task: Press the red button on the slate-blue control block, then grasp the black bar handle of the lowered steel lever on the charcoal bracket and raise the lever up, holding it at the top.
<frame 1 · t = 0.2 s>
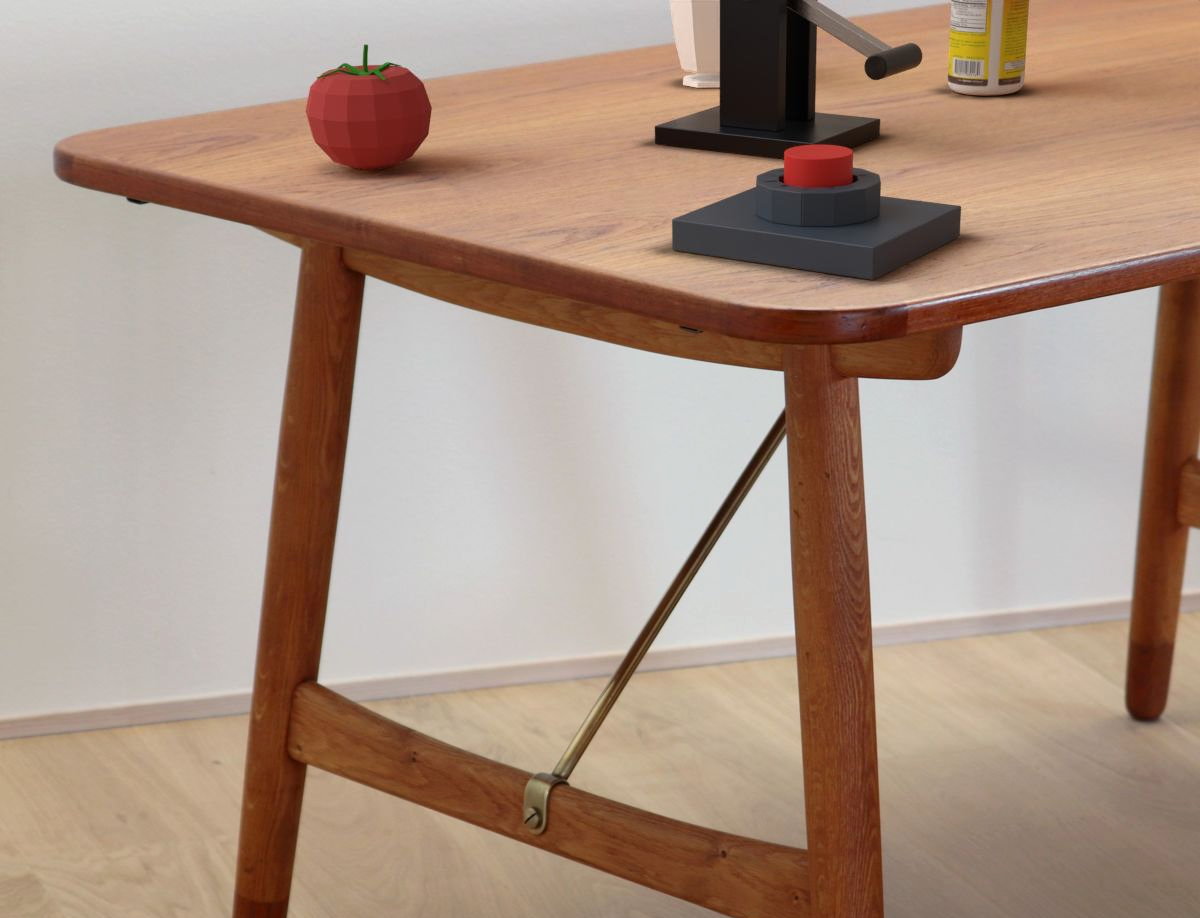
bracket: (767, 140, 128), on the table
control block: (816, 243, 103), on the table
supplement bottle: (984, 93, 142), on the table
lever: (826, 19, 122), point 8 cm above the table, hinge at -25.0°
button: (818, 168, 101), point 4 cm above the table, slide at 0.2 cm
tomato: (373, 170, 123), on the table
cup: (718, 82, 149), on the table
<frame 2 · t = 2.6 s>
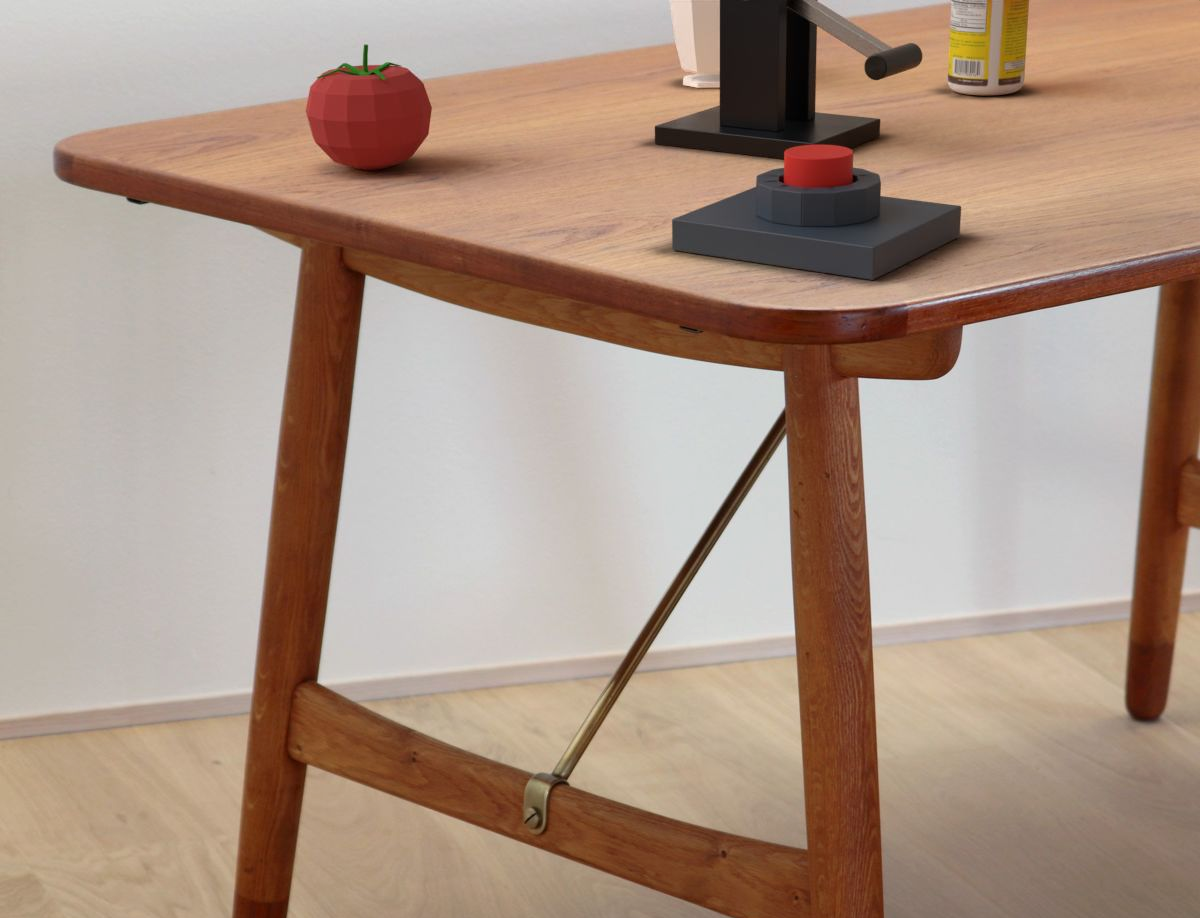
nothing on the table moved.
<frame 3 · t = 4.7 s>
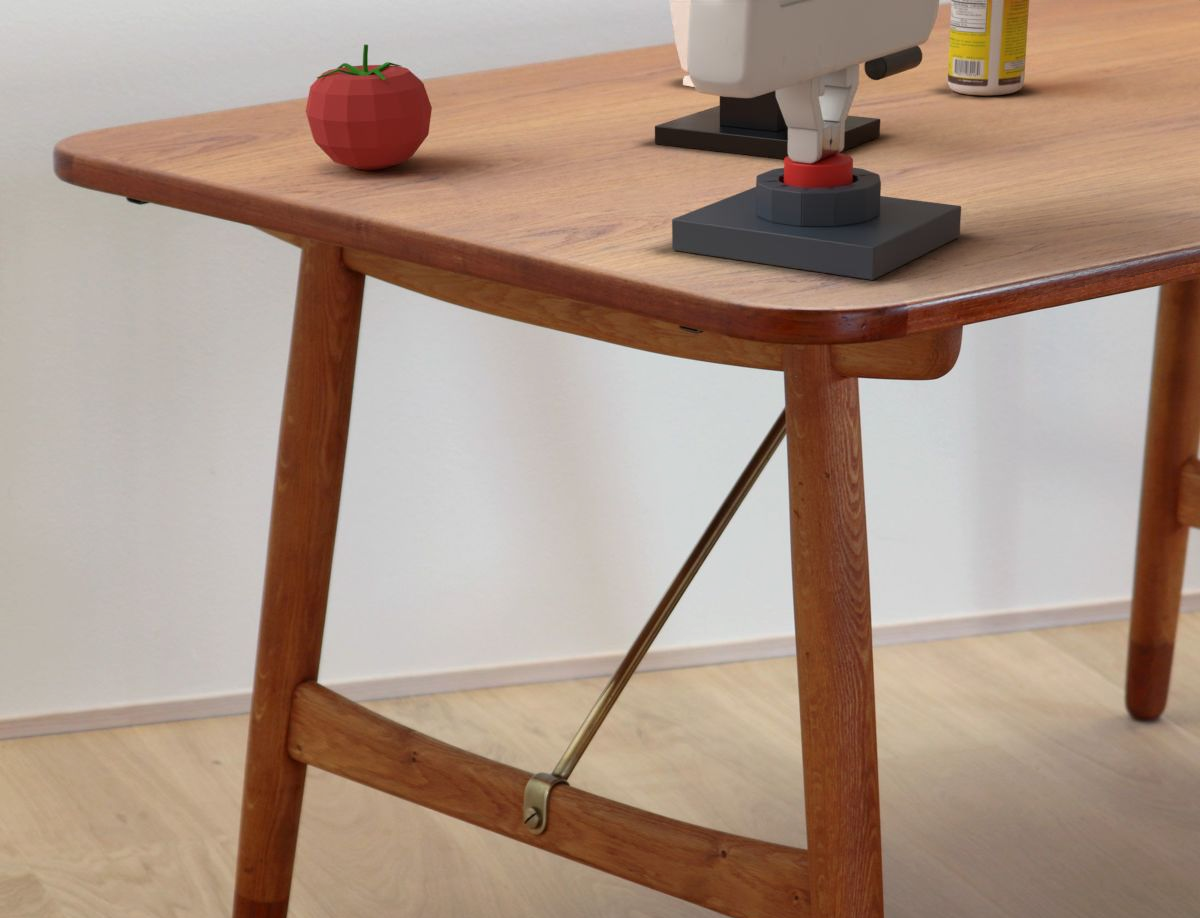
hand: (815, 157, 101), 5 cm above the table, tool pointing down, fingers closed, pressing on button
button: (818, 175, 101), point 4 cm above the table, slide at -0.2 cm, touching gripper
everything else where it was.
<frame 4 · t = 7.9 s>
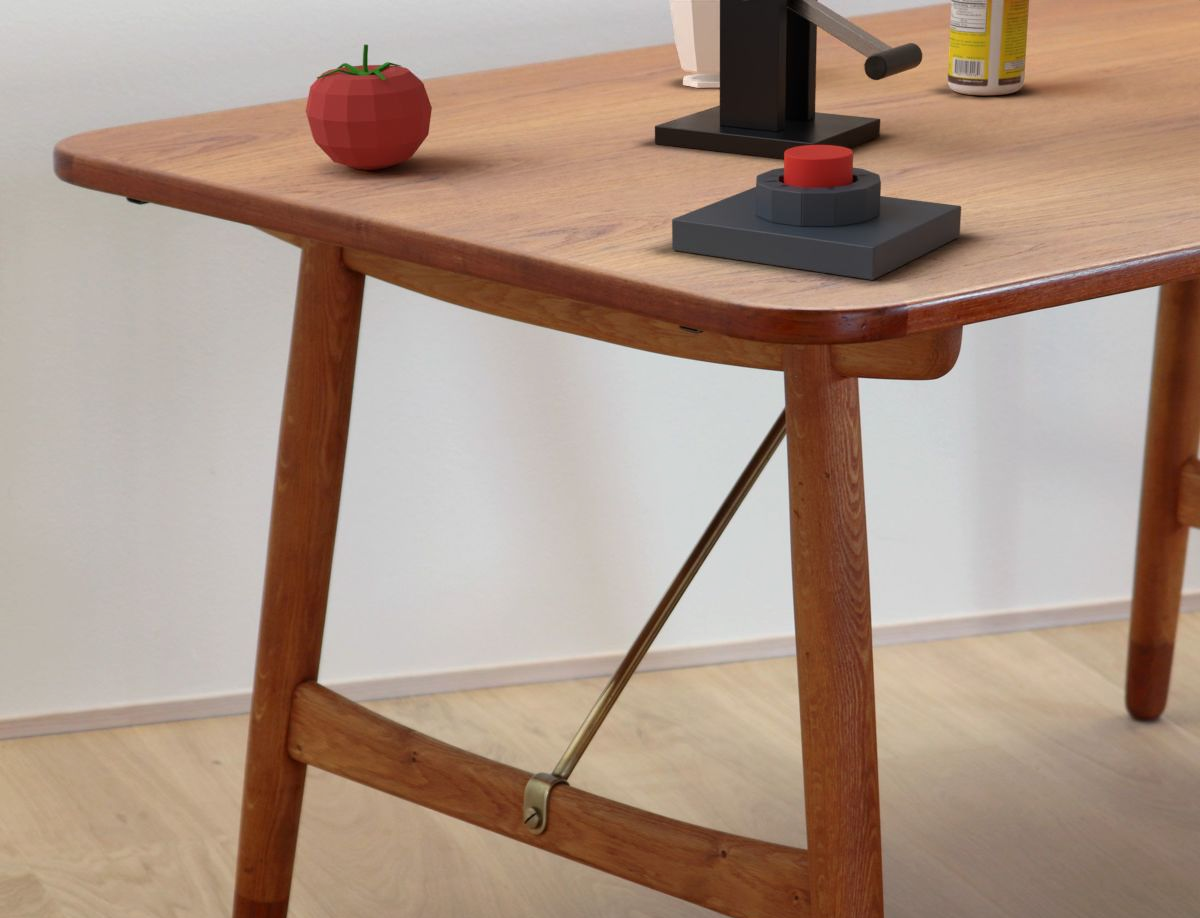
button: (818, 168, 101), point 4 cm above the table, slide at 0.1 cm
everything else where it was.
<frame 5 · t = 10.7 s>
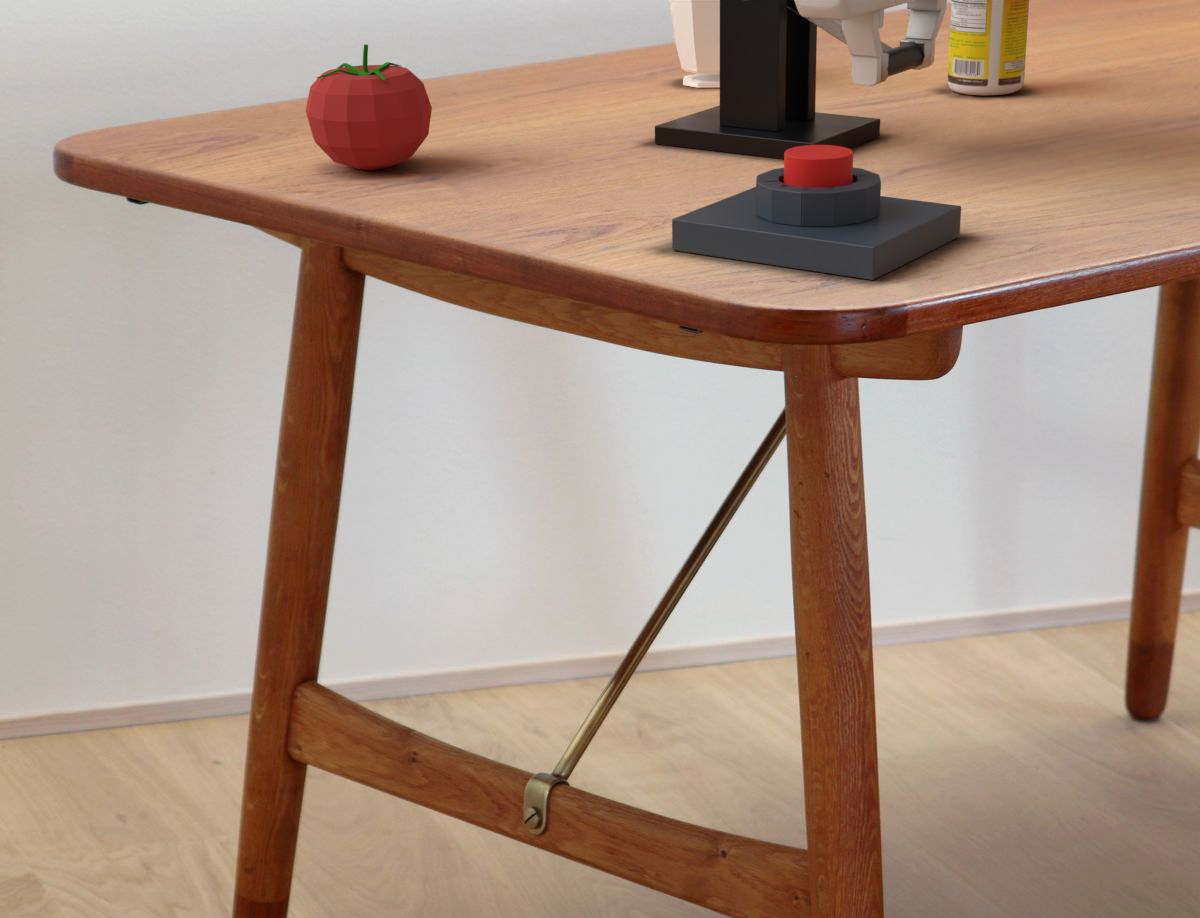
hand: (893, 75, 121), 5 cm above the table, tool pointing down, fingers closed on lever, 5 cm apart
lever: (826, 19, 122), point 8 cm above the table, hinge at -25.0°, touching gripper
everything else where it was.
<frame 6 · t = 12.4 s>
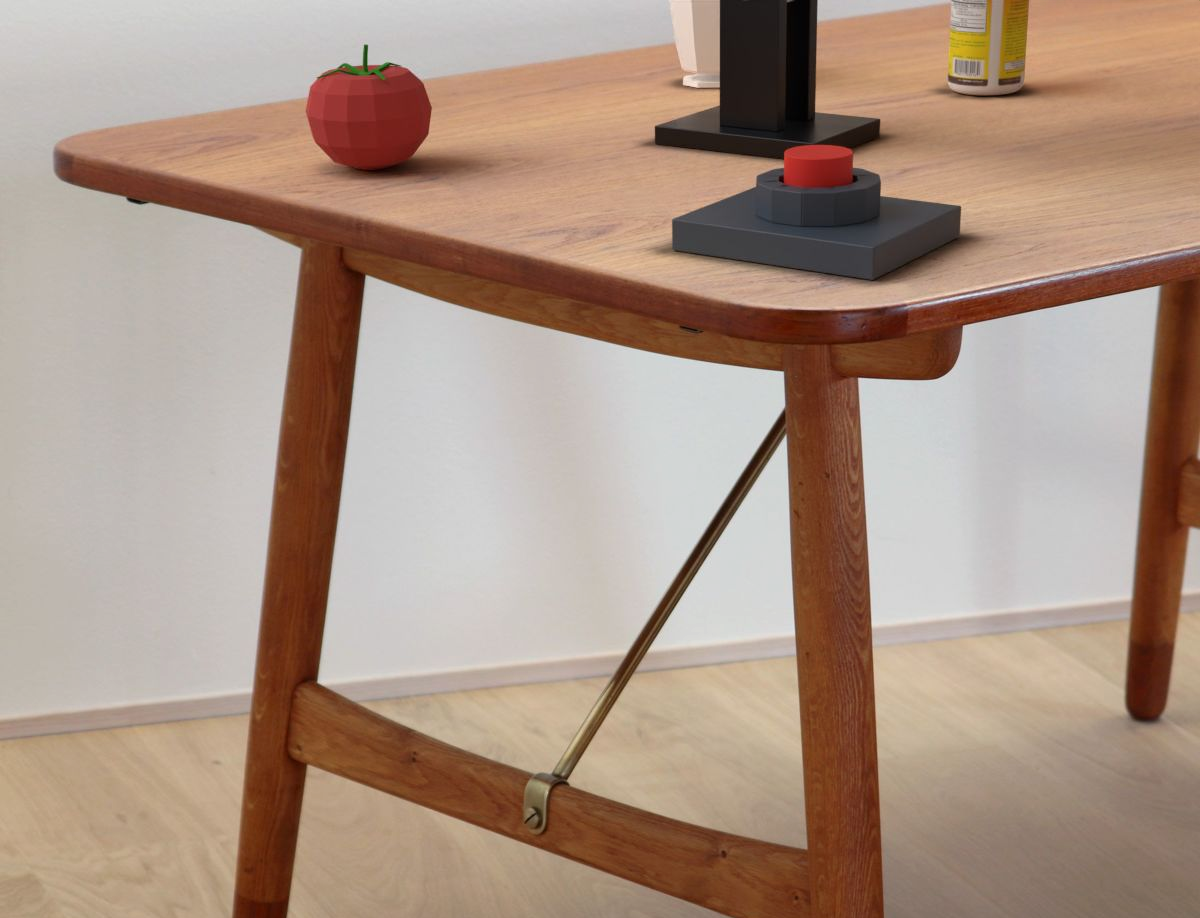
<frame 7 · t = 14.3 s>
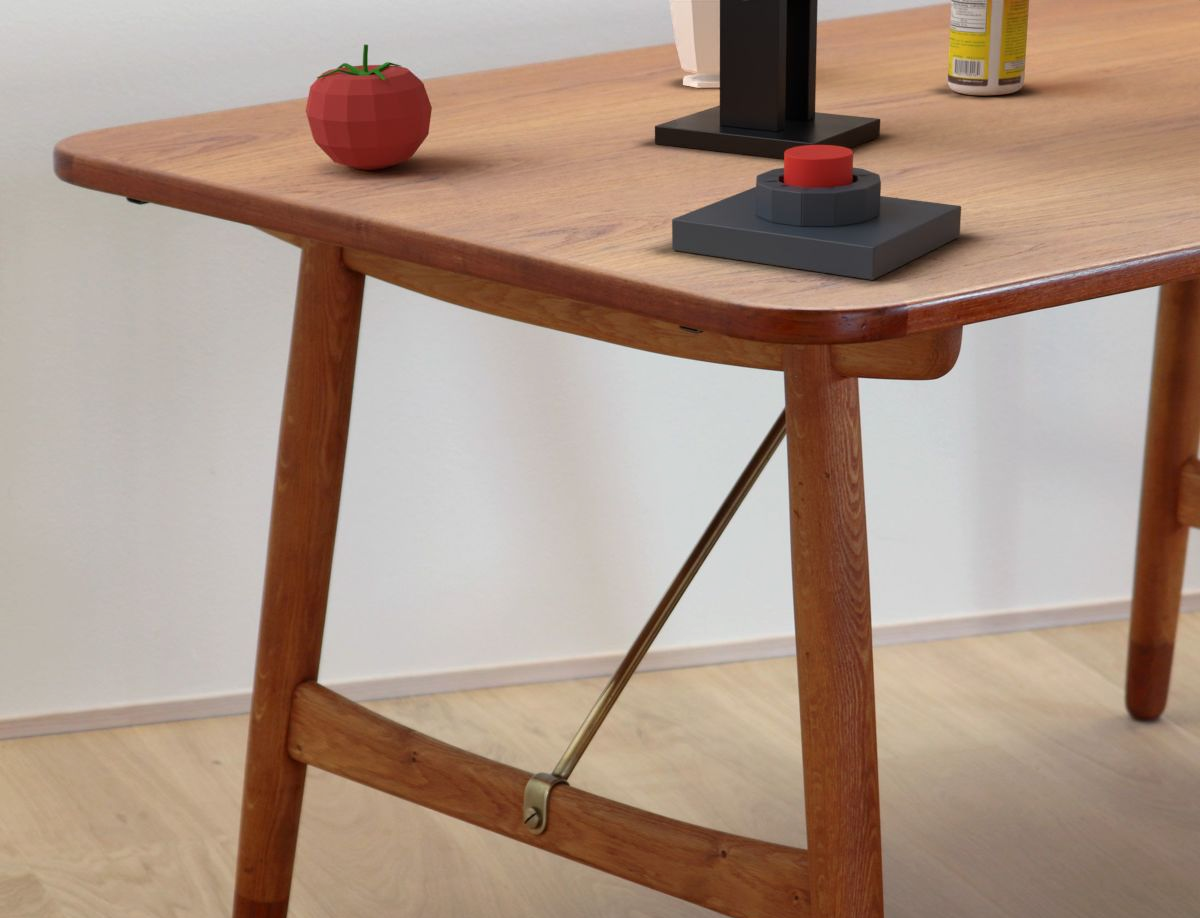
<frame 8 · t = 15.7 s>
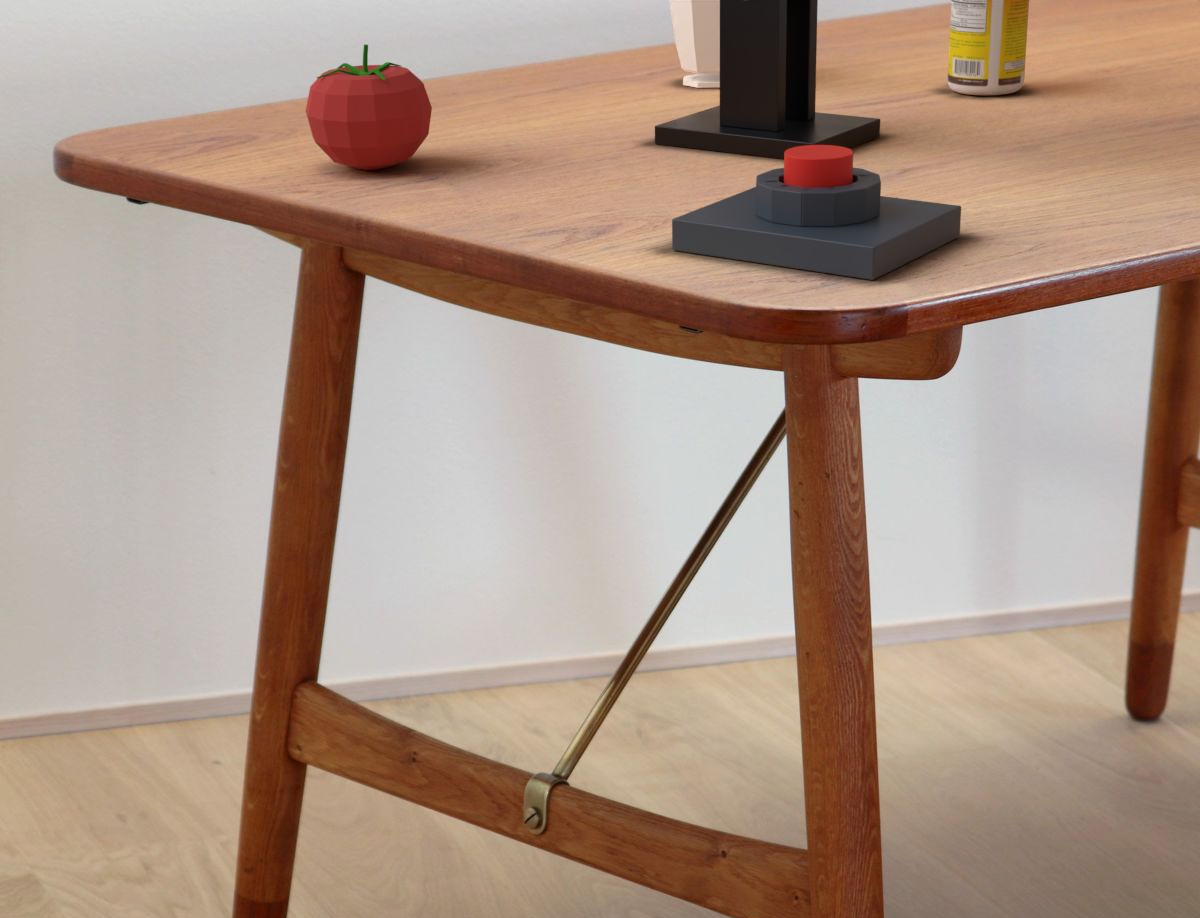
at the end: button pushed in 1.0 cm at the most during the clip, back to where it started at the end; button slide at 0.1 cm; lever at +22° (first picture: -25°) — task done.
